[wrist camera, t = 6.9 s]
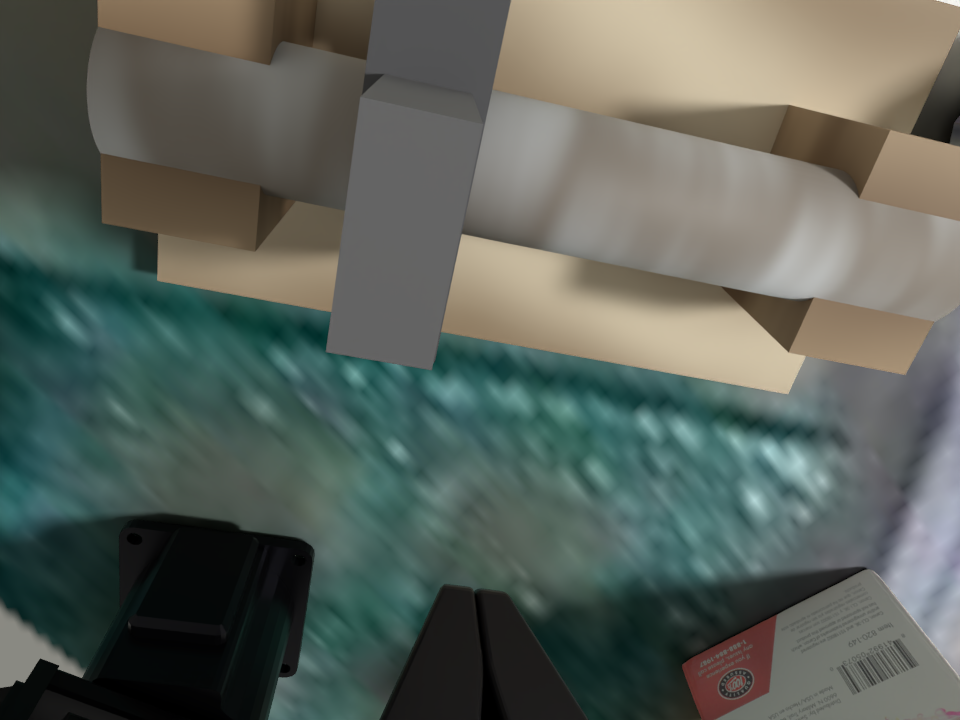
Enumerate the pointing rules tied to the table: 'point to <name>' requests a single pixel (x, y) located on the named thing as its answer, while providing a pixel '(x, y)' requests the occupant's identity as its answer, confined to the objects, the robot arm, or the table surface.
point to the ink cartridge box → (829, 663)
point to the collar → (412, 174)
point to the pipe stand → (571, 172)
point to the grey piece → (956, 133)
